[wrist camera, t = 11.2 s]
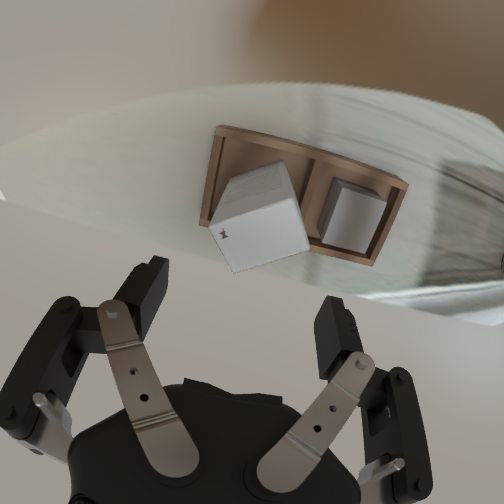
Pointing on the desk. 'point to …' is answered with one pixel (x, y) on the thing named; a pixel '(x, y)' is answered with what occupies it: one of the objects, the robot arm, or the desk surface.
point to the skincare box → (259, 218)
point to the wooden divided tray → (313, 191)
